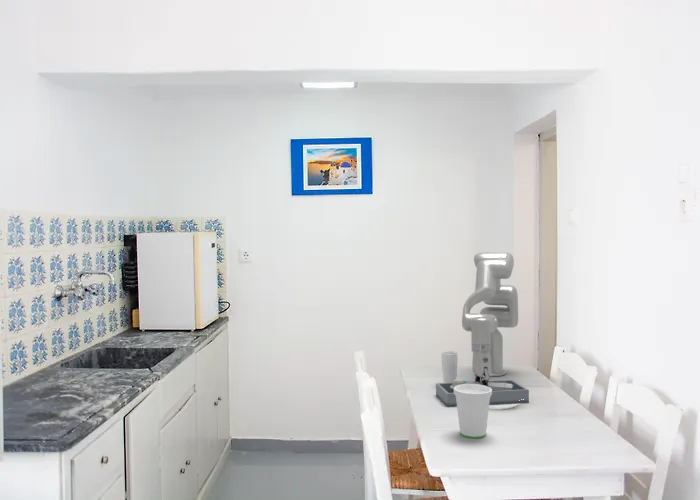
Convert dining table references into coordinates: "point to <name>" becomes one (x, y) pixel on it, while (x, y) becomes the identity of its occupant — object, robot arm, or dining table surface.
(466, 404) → the cup
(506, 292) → the robot arm
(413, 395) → the dining table surface
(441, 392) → the bin
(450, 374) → the drinking glass
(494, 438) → the dining table surface
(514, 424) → the dining table surface
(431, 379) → the dining table surface
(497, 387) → the white electric toothbrush
